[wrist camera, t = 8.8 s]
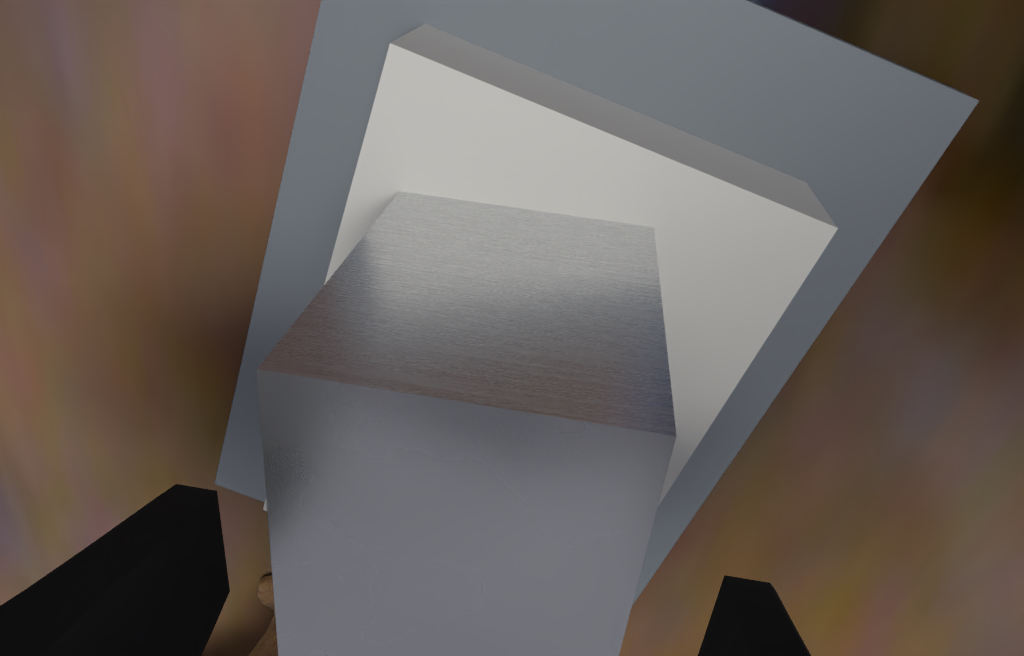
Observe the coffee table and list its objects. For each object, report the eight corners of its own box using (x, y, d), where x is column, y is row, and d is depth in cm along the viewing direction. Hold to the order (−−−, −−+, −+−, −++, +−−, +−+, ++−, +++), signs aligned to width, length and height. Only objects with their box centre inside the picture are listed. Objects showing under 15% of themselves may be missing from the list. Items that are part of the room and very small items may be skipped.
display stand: (958, 89, 15) (1047, 136, 12) (615, 603, 22) (614, 711, 19) (375, -162, 14) (305, -185, 11) (231, 460, 22) (167, 550, 19)
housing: (654, 227, 13) (677, 436, 8) (591, 525, 16) (577, 809, 11) (399, 190, 13) (256, 369, 8) (390, 491, 17) (285, 754, 11)
